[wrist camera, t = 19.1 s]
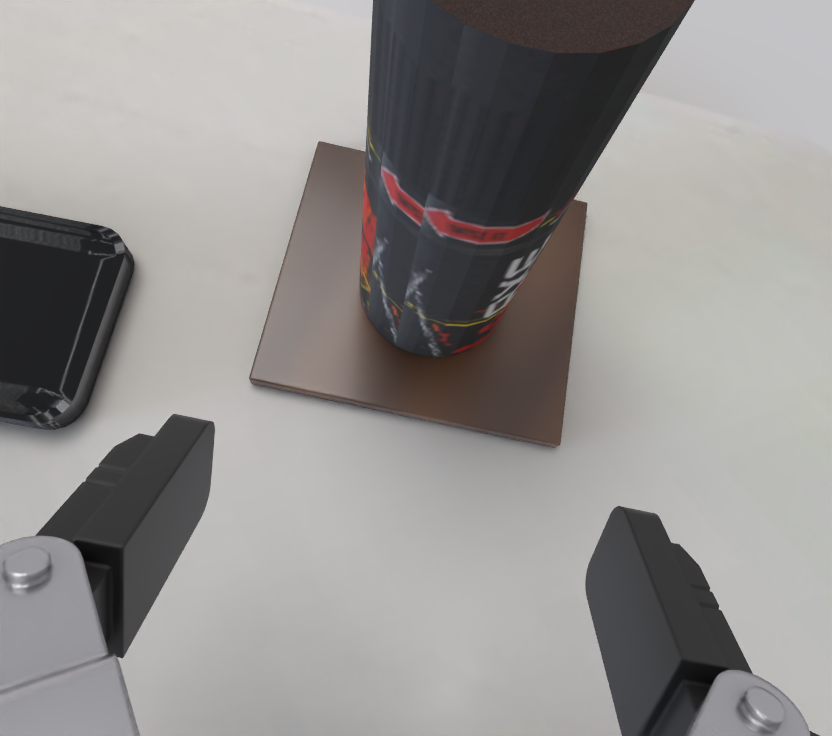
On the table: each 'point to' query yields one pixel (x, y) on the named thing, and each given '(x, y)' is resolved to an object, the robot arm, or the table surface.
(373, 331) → the walnut board
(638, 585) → the robot arm
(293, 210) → the table surface
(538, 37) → the deodorant
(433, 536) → the table surface
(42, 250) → the phone
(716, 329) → the table surface
